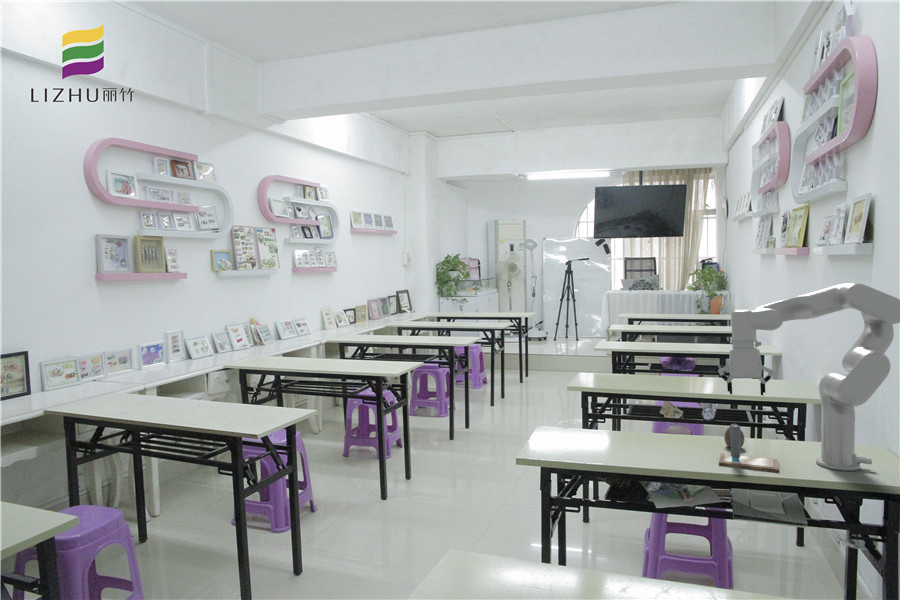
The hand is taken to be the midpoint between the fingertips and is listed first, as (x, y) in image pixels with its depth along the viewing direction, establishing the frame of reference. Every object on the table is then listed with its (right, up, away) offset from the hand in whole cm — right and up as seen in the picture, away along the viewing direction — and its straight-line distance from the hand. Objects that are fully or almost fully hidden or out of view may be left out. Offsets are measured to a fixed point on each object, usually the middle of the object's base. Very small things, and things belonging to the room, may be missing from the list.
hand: (746, 394), depth 201 cm
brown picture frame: (0, -24, -1) cm, 24 cm away
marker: (-4, -23, -1) cm, 23 cm away
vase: (+5, -24, +19) cm, 31 cm away
